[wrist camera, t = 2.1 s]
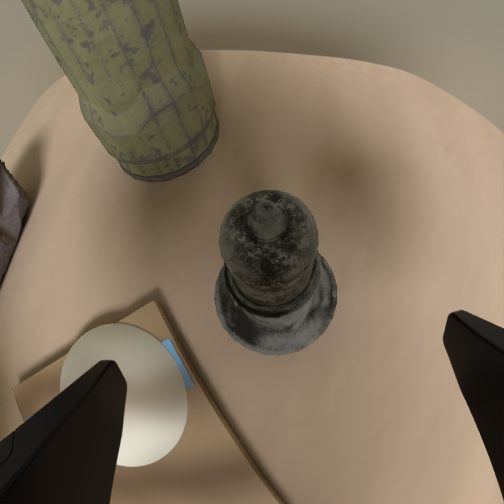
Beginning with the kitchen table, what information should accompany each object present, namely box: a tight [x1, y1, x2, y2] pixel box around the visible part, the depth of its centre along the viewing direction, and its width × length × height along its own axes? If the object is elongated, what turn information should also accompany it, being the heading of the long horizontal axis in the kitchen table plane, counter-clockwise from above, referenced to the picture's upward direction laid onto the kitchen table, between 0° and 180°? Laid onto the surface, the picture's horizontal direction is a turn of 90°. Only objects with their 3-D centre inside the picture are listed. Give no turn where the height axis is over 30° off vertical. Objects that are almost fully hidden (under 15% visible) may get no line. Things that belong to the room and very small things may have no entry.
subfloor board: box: [12, 300, 284, 504], centre depth 14 cm, size 20×14×1 cm
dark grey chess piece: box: [214, 190, 337, 355], centre depth 13 cm, size 6×6×12 cm
